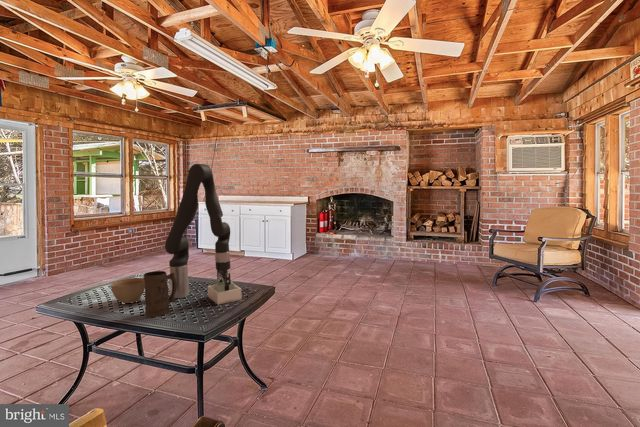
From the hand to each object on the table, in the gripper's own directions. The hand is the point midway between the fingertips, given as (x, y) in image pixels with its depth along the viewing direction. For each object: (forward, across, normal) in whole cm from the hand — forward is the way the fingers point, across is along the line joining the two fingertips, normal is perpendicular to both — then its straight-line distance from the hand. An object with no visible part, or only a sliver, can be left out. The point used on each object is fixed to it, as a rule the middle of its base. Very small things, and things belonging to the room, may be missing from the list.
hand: (224, 290), depth 187 cm
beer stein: (+5, 0, -31) cm, 31 cm away
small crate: (+3, 0, 0) cm, 3 cm away
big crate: (+4, 0, 0) cm, 4 cm away
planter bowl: (+5, -27, -42) cm, 50 cm away
